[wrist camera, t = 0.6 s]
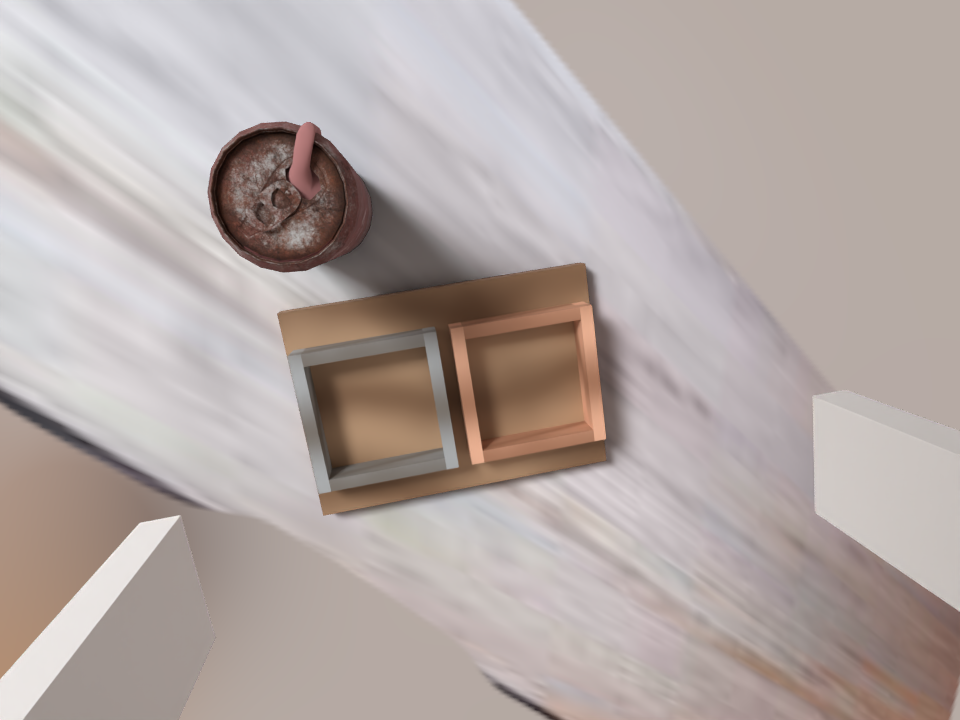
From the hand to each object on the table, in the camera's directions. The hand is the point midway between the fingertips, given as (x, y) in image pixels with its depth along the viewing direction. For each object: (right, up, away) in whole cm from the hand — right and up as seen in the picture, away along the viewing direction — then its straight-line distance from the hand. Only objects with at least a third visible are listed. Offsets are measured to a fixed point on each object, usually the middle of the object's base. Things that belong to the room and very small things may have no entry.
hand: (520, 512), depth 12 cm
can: (-11, +13, +26) cm, 31 cm away
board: (-3, +1, +29) cm, 29 cm away
